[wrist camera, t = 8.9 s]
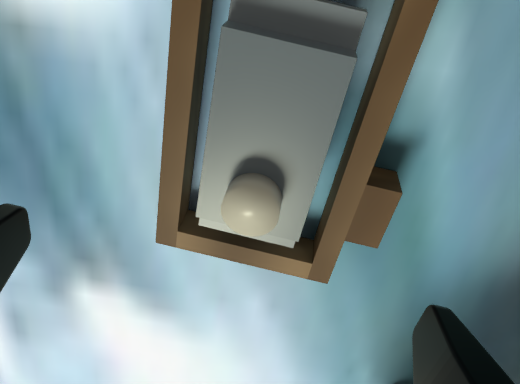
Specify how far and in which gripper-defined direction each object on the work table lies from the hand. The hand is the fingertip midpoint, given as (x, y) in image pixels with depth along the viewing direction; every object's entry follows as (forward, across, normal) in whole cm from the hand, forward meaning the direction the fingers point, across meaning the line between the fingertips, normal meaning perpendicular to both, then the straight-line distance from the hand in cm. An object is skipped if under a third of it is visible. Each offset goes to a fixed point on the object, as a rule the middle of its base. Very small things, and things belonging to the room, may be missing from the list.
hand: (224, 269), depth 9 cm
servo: (+10, 0, 0) cm, 10 cm away
